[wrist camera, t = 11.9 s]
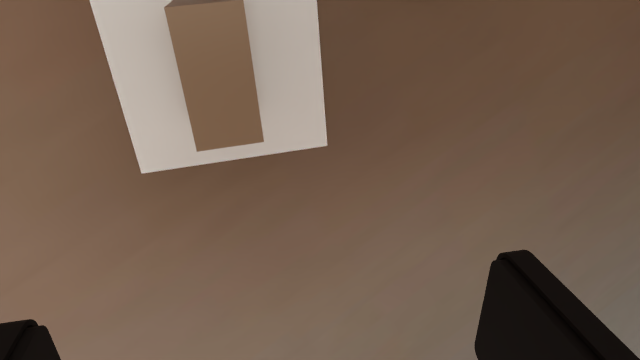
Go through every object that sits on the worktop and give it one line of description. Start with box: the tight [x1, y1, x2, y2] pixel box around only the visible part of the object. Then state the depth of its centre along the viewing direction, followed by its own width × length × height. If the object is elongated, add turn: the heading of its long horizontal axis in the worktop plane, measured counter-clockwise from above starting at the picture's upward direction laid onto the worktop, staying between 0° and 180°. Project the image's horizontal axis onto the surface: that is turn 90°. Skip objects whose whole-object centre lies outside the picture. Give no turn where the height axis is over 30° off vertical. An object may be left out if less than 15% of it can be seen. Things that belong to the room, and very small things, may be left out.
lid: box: [90, 0, 327, 173], centre depth 27 cm, size 14×15×7 cm
